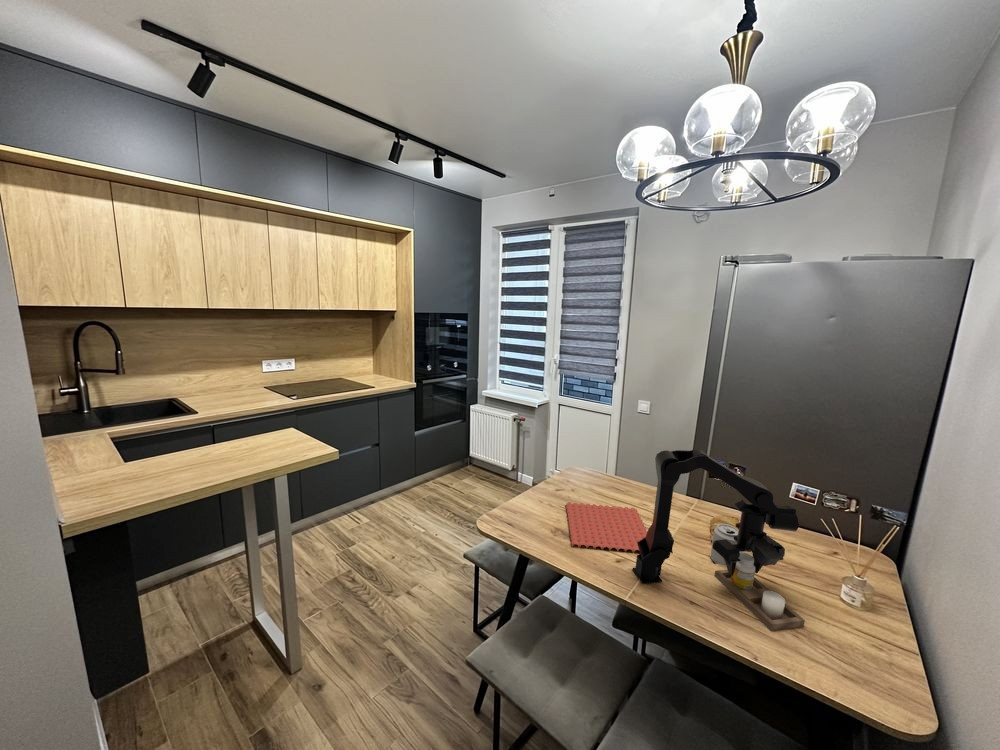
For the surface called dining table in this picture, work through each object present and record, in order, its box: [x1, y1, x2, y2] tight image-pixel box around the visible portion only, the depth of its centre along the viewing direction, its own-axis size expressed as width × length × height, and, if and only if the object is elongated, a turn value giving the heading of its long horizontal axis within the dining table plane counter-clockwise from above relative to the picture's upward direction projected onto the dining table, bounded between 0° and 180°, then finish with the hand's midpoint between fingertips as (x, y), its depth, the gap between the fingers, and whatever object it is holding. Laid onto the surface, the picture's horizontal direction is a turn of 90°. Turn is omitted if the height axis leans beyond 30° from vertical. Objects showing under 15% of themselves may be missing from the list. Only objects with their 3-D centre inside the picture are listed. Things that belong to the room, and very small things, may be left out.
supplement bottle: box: [731, 552, 756, 591], centre depth 112 cm, size 5×5×10 cm
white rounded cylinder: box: [760, 590, 786, 620], centre depth 102 cm, size 5×5×5 cm
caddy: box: [714, 568, 806, 632], centre depth 108 cm, size 10×20×3 cm, turn 10°
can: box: [709, 524, 738, 567], centre depth 124 cm, size 8×8×12 cm
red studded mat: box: [565, 501, 648, 554], centre depth 142 cm, size 28×28×2 cm
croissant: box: [709, 515, 740, 542], centre depth 140 cm, size 21×10×8 cm, turn 131°
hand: (743, 573), depth 112 cm, fingers open, 8 cm apart
